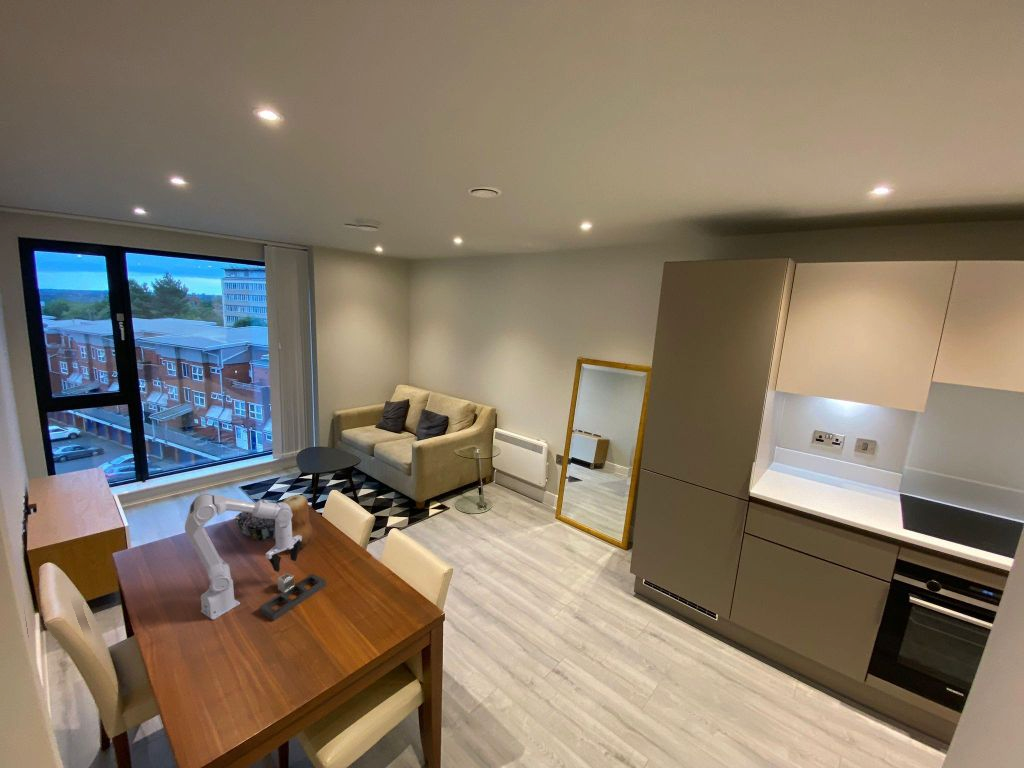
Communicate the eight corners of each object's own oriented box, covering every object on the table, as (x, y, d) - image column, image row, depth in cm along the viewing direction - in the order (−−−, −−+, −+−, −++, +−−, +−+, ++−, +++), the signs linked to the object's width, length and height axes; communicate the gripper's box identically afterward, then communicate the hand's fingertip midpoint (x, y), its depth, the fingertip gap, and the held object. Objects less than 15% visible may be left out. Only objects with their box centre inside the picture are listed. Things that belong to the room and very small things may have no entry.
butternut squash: (273, 551, 186) (270, 500, 181) (296, 536, 198) (294, 488, 194) (297, 558, 182) (295, 506, 177) (319, 542, 195) (318, 493, 190)
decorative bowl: (271, 552, 188) (271, 533, 186) (220, 538, 193) (220, 519, 191) (309, 524, 213) (309, 507, 211) (263, 512, 218) (263, 495, 216)
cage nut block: (284, 593, 161) (284, 581, 160) (278, 589, 163) (277, 578, 162) (293, 587, 164) (293, 575, 163) (287, 583, 166) (286, 572, 165)
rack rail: (273, 621, 147) (273, 614, 146) (259, 612, 150) (259, 606, 150) (326, 585, 166) (325, 580, 166) (312, 578, 170) (312, 573, 169)
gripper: (274, 546, 152) (276, 578, 155) (306, 527, 165) (308, 558, 168) (260, 541, 155) (262, 573, 157) (294, 523, 168) (295, 553, 170)
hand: (285, 565), depth 163 cm, fingers open, 7 cm apart
